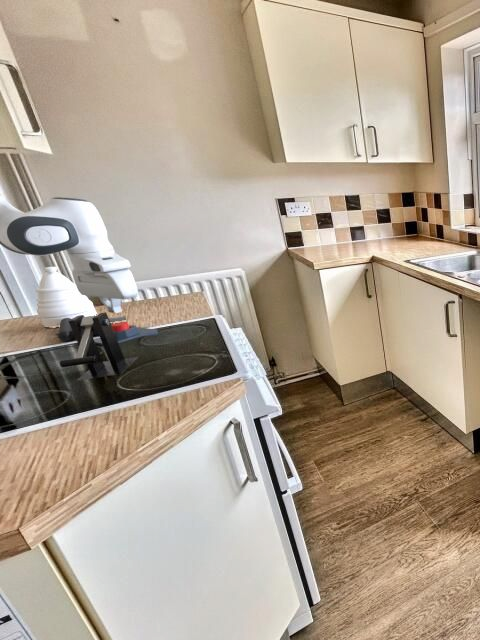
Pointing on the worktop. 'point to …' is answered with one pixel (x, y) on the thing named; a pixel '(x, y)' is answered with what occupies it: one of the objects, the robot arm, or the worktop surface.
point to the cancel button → (120, 326)
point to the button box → (130, 334)
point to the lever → (83, 345)
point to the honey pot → (60, 299)
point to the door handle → (67, 333)
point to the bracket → (110, 345)
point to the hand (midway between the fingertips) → (115, 312)
